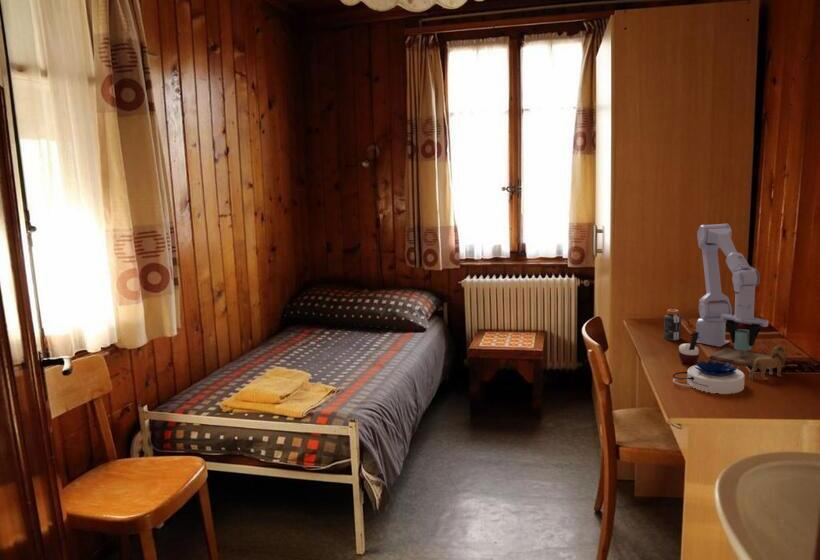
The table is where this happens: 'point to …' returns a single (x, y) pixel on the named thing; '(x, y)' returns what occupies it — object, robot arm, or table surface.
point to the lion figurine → (770, 362)
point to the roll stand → (737, 356)
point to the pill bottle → (672, 325)
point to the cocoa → (689, 351)
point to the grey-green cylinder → (742, 340)
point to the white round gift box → (714, 377)
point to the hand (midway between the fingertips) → (742, 343)
